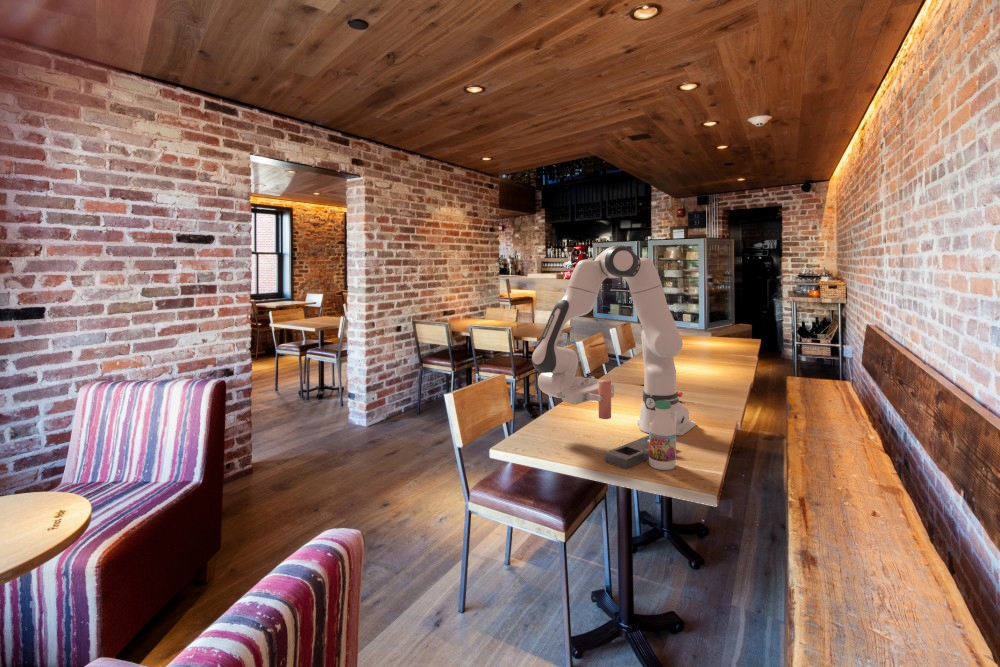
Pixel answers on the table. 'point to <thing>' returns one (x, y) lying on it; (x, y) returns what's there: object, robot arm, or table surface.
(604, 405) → the red peg
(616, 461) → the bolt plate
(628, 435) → the table surface
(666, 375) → the robot arm
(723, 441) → the table surface
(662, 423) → the milk bottle
